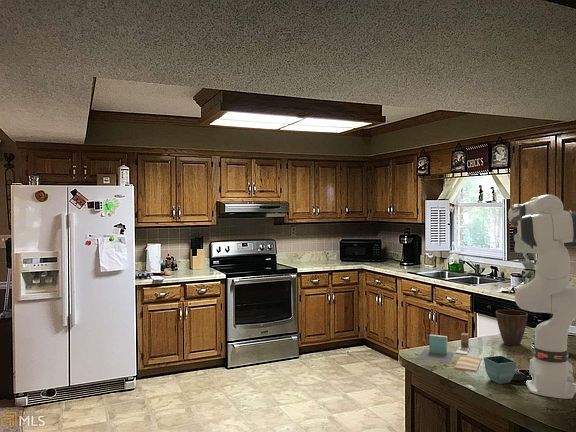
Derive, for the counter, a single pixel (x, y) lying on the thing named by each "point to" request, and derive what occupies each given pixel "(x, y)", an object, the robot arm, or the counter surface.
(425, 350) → the mat
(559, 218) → the robot arm
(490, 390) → the counter surface
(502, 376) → the flower pot
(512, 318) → the plant pot
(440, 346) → the tile
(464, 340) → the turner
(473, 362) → the board
